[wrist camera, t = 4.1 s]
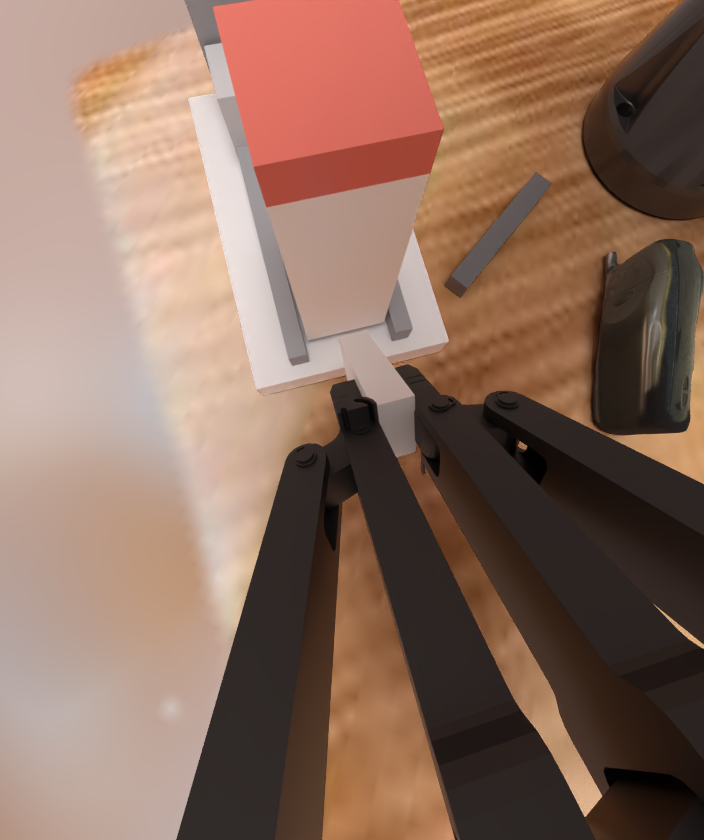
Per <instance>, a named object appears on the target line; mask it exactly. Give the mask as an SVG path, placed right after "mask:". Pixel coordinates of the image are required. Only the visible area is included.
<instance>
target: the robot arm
mask: <svg viewBox="0 0 704 840" xmlns="http://www.w3.org/2000/svg"><path fill="white" fill-rule="evenodd" d="M583 135H584V144H585V149H586V152H587V155H588V158H589V161H590V163H591V165H592V167H593V168H594V170H595V172H596V173H597V175H598V176H599V178H600V179H601V180H602V182H603V183H604V184H605V185H606V186H607V187H608V188H609V189H610V190H611V191H612V192H613V193H614V194H615V195H616V196H618V197H619V198H620V199H622V200H623V201H625V202H626V203H628V204H629V205H631V206H633V207H635V208H637V209H639V210H641V211H643V212H646V213H649V214H651V215H655V216H659V217H663V218H670V219H691V218H697V217H702V216H704V0H683V1H682V2H681V3H679V4H678V5H677V6H676V7H675V8H674V9H673V10H672V11H671V12H670V13H669V14H668V15H667V16H666V17H665V18H664V19H663V20H662V21H661V22H660V23H659V24H658V25H657V26H656V27H655V28H654V29H653V30H652V31H651V32H650V33H649V34H648V35H647V36H646V37H645V38H644V39H643V40H642V41H641V42H640V43H639V44H638V45H637V46H636V47H635V48H634V49H633V50H632V51H631V52H630V53H629V54H628V55H627V56H626V57H625V58H624V59H623V60H622V61H621V62H620V63H619V65H618V66H617V67H616V68H615V70H614V71H613V72H612V74H611V75H610V77H609V78H608V79H607V81H606V82H605V84H604V85H603V86H602V88H601V89H600V91H599V92H598V93H597V95H596V96H595V98H594V99H593V101H592V102H591V104H590V106H589V108H588V110H587V113H586V116H585V121H584V129H583ZM338 338H339V343H340V348H341V353H342V357H343V362H344V367H345V372H346V377H347V381H346V382H342V383H338V384H334V385H333V386H332V389H331V391H330V393H331V397H332V401H333V405H334V409H335V412H336V416H337V420H338V423H339V427H340V431H339V434H338V436H337V437H336V438H335V439H334V440H333V441H332V442H330V443H329V444H327V445H326V446H324V447H322V446H320V445H318V444H305V445H301V446H299V447H297V448H296V449H294V450H293V451H292V452H291V453H290V454H289V455H288V457H287V459H286V461H285V465H284V468H283V472H282V475H281V478H280V482H279V485H278V489H277V492H276V496H275V499H274V503H273V506H272V510H271V513H270V517H269V520H268V524H267V527H266V531H265V534H264V537H263V541H262V544H261V548H260V551H259V555H258V558H257V562H256V565H255V569H254V572H253V576H252V579H251V583H250V586H249V589H248V593H247V596H246V600H245V603H244V607H243V610H242V614H241V617H240V621H239V624H238V628H237V631H236V635H235V638H234V642H233V645H232V648H231V652H230V655H229V659H228V662H227V666H226V669H225V673H224V676H223V680H222V683H221V687H220V690H219V694H218V697H217V701H216V704H215V707H214V711H213V714H212V718H211V721H210V725H209V728H208V732H207V735H206V739H205V742H204V746H203V749H202V753H201V756H200V760H199V763H198V766H197V770H196V773H195V777H194V780H193V784H192V787H191V791H190V795H189V798H188V801H187V805H186V808H185V812H184V815H183V819H182V822H181V825H180V829H179V833H178V836H177V839H176V840H322V831H323V815H324V798H325V782H326V765H327V749H328V732H329V716H330V699H331V683H332V666H333V650H334V633H335V617H336V600H337V583H338V567H339V550H340V534H341V517H342V502H343V501H345V500H346V499H348V498H349V497H351V496H353V495H354V494H356V493H357V492H358V496H359V499H360V503H361V506H362V510H363V513H364V517H365V520H366V524H367V527H368V531H369V535H370V538H371V542H372V545H373V549H374V552H375V556H376V559H377V563H378V566H379V570H380V574H381V577H382V581H383V584H384V588H385V591H386V595H387V598H388V602H389V605H390V609H391V612H392V616H393V620H394V623H395V627H396V630H397V634H398V637H399V641H400V644H401V648H402V651H403V655H404V659H405V662H406V666H407V669H408V673H409V676H410V680H411V683H412V687H413V690H414V694H415V698H416V701H417V705H418V708H419V712H420V715H421V719H422V722H423V726H424V729H425V733H426V737H427V740H428V744H429V748H430V751H431V755H432V759H433V762H434V766H435V770H436V773H437V777H438V780H439V784H440V788H441V791H442V795H443V798H444V802H445V805H446V809H447V812H448V816H449V820H450V823H451V827H452V830H453V834H454V837H455V840H704V649H703V648H701V647H699V646H698V645H696V644H695V643H693V642H692V641H690V640H689V639H688V638H686V637H685V636H684V635H683V634H682V633H681V632H680V631H679V630H678V629H677V628H676V627H675V626H674V625H673V624H672V623H671V622H670V621H669V620H668V619H667V618H666V617H665V616H664V615H663V614H662V613H661V612H660V611H659V610H658V609H657V608H656V607H655V605H656V606H657V607H658V608H659V609H661V610H662V611H663V612H664V613H666V614H667V615H668V616H669V617H671V618H672V619H673V620H674V621H676V622H677V623H678V624H679V625H680V626H682V627H683V628H684V629H685V630H687V631H688V632H689V633H690V634H692V635H693V636H694V637H695V638H697V639H698V640H699V641H700V642H702V643H703V644H704V484H702V483H700V482H698V481H696V480H694V479H692V478H690V477H688V476H686V475H684V474H682V473H680V472H678V471H676V470H674V469H672V468H670V467H668V466H666V465H664V464H662V463H660V462H657V461H655V460H653V459H651V458H649V457H647V456H645V455H643V454H641V453H639V452H637V451H635V450H633V449H631V448H629V447H627V446H625V445H623V444H621V443H619V442H617V441H615V440H613V439H611V438H609V437H607V436H605V435H603V434H601V433H599V432H597V431H594V430H592V429H590V428H588V427H586V426H584V425H582V424H580V423H578V422H576V421H574V420H572V419H570V418H568V417H566V416H564V415H562V414H560V413H558V412H556V411H554V410H552V409H550V408H548V407H546V406H544V405H542V404H540V403H538V402H536V401H534V400H531V399H529V398H527V397H525V396H523V395H521V394H518V393H516V392H511V391H496V392H493V393H490V394H489V395H488V396H486V399H485V402H484V404H479V405H462V404H461V403H460V402H459V401H458V400H456V399H455V398H453V397H450V396H447V395H440V394H439V392H438V391H437V390H436V389H435V388H434V387H433V386H432V385H431V384H430V382H429V381H428V380H426V378H425V377H424V376H423V375H422V374H421V372H420V371H419V370H418V369H417V368H415V367H412V366H410V365H404V366H400V367H397V368H394V367H393V366H392V364H391V363H390V362H389V360H388V359H387V358H386V356H385V355H384V354H383V352H382V351H381V350H380V348H379V347H378V346H377V344H376V343H375V342H374V340H373V339H372V338H371V336H370V335H369V334H368V332H367V331H366V330H365V331H361V332H357V333H353V334H349V335H345V336H341V337H338ZM519 441H521V442H522V443H524V444H525V445H527V446H528V447H527V449H526V450H523V449H521V448H519V447H518V444H519ZM416 443H417V444H418V446H419V448H420V449H421V472H422V475H423V474H425V468H426V469H427V471H428V473H429V474H430V476H431V478H432V480H433V481H434V483H435V485H436V487H437V488H438V490H439V492H440V494H441V495H442V497H443V499H444V501H445V502H446V504H447V506H448V508H449V509H450V511H451V513H452V515H453V516H454V518H455V520H456V522H457V523H458V525H459V527H460V529H461V530H462V532H463V534H464V535H465V537H466V539H467V541H468V542H469V544H470V546H471V548H472V549H473V551H474V553H475V555H476V556H477V558H478V560H479V562H480V563H481V565H482V567H483V569H484V570H485V572H486V574H487V576H488V577H489V579H490V581H491V583H492V584H493V586H494V588H495V590H496V591H497V593H498V595H499V596H500V598H501V600H502V602H503V603H504V605H505V607H506V609H507V610H508V612H509V614H510V616H511V617H512V619H513V621H514V623H515V624H516V626H517V628H518V630H519V631H520V633H521V635H522V637H523V638H524V640H525V642H526V644H527V645H528V647H529V649H530V651H531V652H532V654H533V656H534V657H535V659H536V661H537V663H538V664H539V666H540V668H541V670H542V671H543V673H544V675H545V677H546V678H547V680H548V682H549V684H550V686H551V688H552V690H553V692H554V694H555V697H556V700H557V704H558V709H559V713H560V716H561V718H562V721H563V723H564V726H565V728H566V730H567V732H568V734H569V736H570V738H571V740H572V742H573V744H574V745H575V747H576V749H577V751H578V753H579V754H580V756H581V758H582V760H583V762H584V763H585V765H586V767H587V769H588V771H589V772H590V774H591V776H592V778H593V780H594V781H595V783H596V785H597V787H598V789H599V790H600V792H601V794H602V796H603V797H602V798H601V799H600V800H599V801H598V803H597V804H596V805H595V806H594V807H593V809H592V810H591V811H590V812H589V814H588V815H587V816H586V817H584V815H583V813H582V811H581V809H580V807H579V805H578V803H577V801H576V799H575V798H574V796H573V794H572V792H571V790H570V788H569V786H568V784H567V782H566V780H565V778H564V776H563V774H562V773H561V771H560V769H559V767H558V765H557V763H556V762H555V760H554V758H553V756H552V754H551V752H550V751H549V749H548V748H547V746H546V744H545V743H544V741H543V740H542V738H541V736H540V735H539V733H538V732H537V730H536V729H535V728H534V726H533V725H532V724H531V723H530V721H529V720H528V719H527V718H526V716H525V715H524V714H523V713H522V711H521V710H520V708H519V707H518V705H517V703H516V702H515V700H514V698H513V697H512V695H511V693H510V691H509V689H508V687H507V685H506V683H505V681H504V679H503V677H502V675H501V673H500V670H499V668H498V666H497V664H496V662H495V660H494V658H493V656H492V654H491V652H490V650H489V648H488V646H487V644H486V642H485V640H484V637H483V635H482V633H481V631H480V629H479V627H478V625H477V623H476V621H475V619H474V617H473V615H472V613H471V611H470V609H469V607H468V604H467V602H466V600H465V598H464V596H463V594H462V592H461V590H460V588H459V586H458V584H457V582H456V580H455V578H454V576H453V573H452V571H451V569H450V567H449V565H448V563H447V561H446V559H445V557H444V555H443V553H442V551H441V549H440V547H439V545H438V543H437V540H436V538H435V536H434V534H433V532H432V530H431V528H430V526H429V524H428V522H427V520H426V518H425V516H424V514H423V512H422V510H421V507H420V505H419V503H418V501H417V499H416V497H415V495H414V493H413V491H412V489H411V487H410V485H409V483H408V481H407V479H406V477H405V474H404V472H403V470H402V468H401V466H400V464H399V462H398V460H397V458H396V457H400V456H404V455H407V454H411V453H414V452H416ZM654 604H655V605H654Z"/></svg>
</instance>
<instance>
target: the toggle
mask: <svg viewBox="0 0 704 840" xmlns="http://www.w3.org/2000/svg"><path fill="white" fill-rule="evenodd" d="M213 11H214V15H215V19H216V22H217V26H218V30H219V34H220V38H221V42H222V46H223V50H224V54H225V58H226V62H227V66H228V69H229V73H230V77H231V81H232V85H233V89H234V93H235V97H236V101H237V105H238V109H239V112H240V116H241V120H242V124H243V128H244V132H245V136H246V140H247V144H248V148H249V152H250V156H251V159H252V163H253V167H254V170H255V174H256V177H257V180H258V183H259V186H260V189H261V193H262V196H263V199H264V202H265V205H266V208H267V212H268V215H269V218H270V221H271V224H272V227H273V230H274V234H275V237H276V240H277V243H278V246H279V249H280V253H281V256H282V259H283V262H284V265H285V268H286V272H287V275H288V278H289V281H290V284H291V287H292V291H293V294H294V297H295V300H296V303H297V306H298V310H299V313H300V316H301V319H302V322H303V325H304V329H305V332H306V335H307V338H308V340H312V339H316V338H321V337H325V336H329V335H333V334H337V333H341V332H346V331H350V330H354V329H358V328H362V327H366V326H370V325H375V324H379V323H383V322H384V320H385V317H386V314H387V311H388V307H389V304H390V301H391V298H392V294H393V291H394V288H395V285H396V282H397V278H398V275H399V272H400V269H401V266H402V262H403V259H404V256H405V253H406V249H407V246H408V243H409V240H410V237H411V233H412V230H413V227H414V224H415V220H416V217H417V214H418V211H419V208H420V204H421V201H422V198H423V195H424V191H425V188H426V185H427V182H428V179H429V175H430V172H431V169H432V166H433V162H434V159H435V156H436V153H437V150H438V146H439V143H440V140H441V137H442V133H443V130H444V128H443V125H442V122H441V120H440V117H439V114H438V111H437V108H436V105H435V102H434V100H433V97H432V94H431V91H430V88H429V85H428V83H427V80H426V77H425V74H424V71H423V68H422V65H421V63H420V60H419V57H418V54H417V51H416V48H415V46H414V43H413V40H412V37H411V34H410V31H409V28H408V26H407V23H406V20H405V17H404V14H403V11H402V8H401V6H400V3H399V0H252V1H246V2H239V3H233V4H227V5H220V6H214V7H213Z"/></svg>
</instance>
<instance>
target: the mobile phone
mask: <svg viewBox="0 0 704 840" xmlns="http://www.w3.org/2000/svg"><path fill="white" fill-rule="evenodd" d="M702 292H703V270H702V268H701V266H700V264H699V263H698V261H697V258H696V255H695V251H694V247H693V245H692V244H690V243H689V242H685V241H681V240H675V239H664V240H659V241H656V242H654V243H652V244H650V245H649V246H647V247H645V248H644V249H642V250H641V251H639V252H638V253H636V254H635V255H633V256H632V257H630V258H629V259H628V260H626V261H625V262H624V263H622V264H620V265H618V264H617V255H616V252H611V253H608V254H607V255H606V267H605V294H604V299H603V312H602V316H601V323H600V339H599V349H598V355H597V361H596V368H595V378H594V388H593V398H592V413H593V419H594V421H595V422H596V424H597V425H598V426H599V428H600V429H602V430H603V431H605V432H608V433H611V434H616V435H636V434H662V433H680V432H684V431H686V430H687V428H688V426H689V422H690V394H691V378H692V371H693V369H694V346H695V328H696V323H697V318H698V313H699V307H700V301H701V297H702Z"/></svg>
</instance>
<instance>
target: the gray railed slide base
mask: <svg viewBox="0 0 704 840" xmlns="http://www.w3.org/2000/svg"><path fill="white" fill-rule="evenodd" d="M246 1H252V0H185V3H186V5H187V8H188V11H189V14H190V17H191V20H192V22H193V25H194V28H195V31H196V34H197V37H198V40H199V42H200V45H201V48H202V51H203V54H204V57H205V59H206V62H207V65H208V68H209V71H210V74H211V77H212V81H213V85H214V89H215V93H213V94H208V95H202V96H197V97H191V98H188V99H189V103H190V108H191V112H192V116H193V121H194V125H195V129H196V134H197V138H198V142H199V146H200V151H201V155H202V159H203V164H204V168H205V172H206V177H207V181H208V185H209V190H210V194H211V198H212V202H213V207H214V211H215V215H216V220H217V224H218V228H219V233H220V237H221V241H222V245H223V250H224V254H225V258H226V263H227V267H228V271H229V276H230V280H231V284H232V288H233V293H234V297H235V301H236V306H237V310H238V314H239V319H240V323H241V327H242V332H243V336H244V340H245V344H246V349H247V353H248V357H249V362H250V366H251V370H252V375H253V379H254V383H255V387H256V390H257V391H259V392H260V393H262V394H263V395H264V396H265V395H269V394H273V393H277V392H281V391H285V390H289V389H293V388H297V387H301V386H305V385H309V384H313V383H317V382H321V381H325V380H329V379H333V378H337V377H341V376H345V375H346V372H345V367H344V362H343V357H342V353H341V348H340V343H339V338H338V337H341V336H345V335H349V334H353V333H357V332H361V331H365V330H366V331H367V332H368V334H369V335H370V336H371V338H372V339H373V340H374V342H375V343H376V344H377V346H378V347H379V348H380V350H381V351H382V352H383V354H384V355H385V356H386V358H387V359H388V360H389V362H390V363H391V364H392V363H396V362H400V361H404V360H408V359H412V358H416V357H420V356H424V355H428V354H432V353H436V352H439V351H440V350H441V349H442V348H443V347H444V346H445V345H446V344H447V343H448V342H449V339H448V336H447V333H446V330H445V327H444V324H443V321H442V318H441V314H440V311H439V308H438V305H437V302H436V299H435V296H434V293H433V290H432V286H431V283H430V280H429V277H428V274H427V271H426V268H425V265H424V261H423V258H422V255H421V252H420V249H419V246H418V243H417V240H416V237H415V233H414V230H412V233H411V237H410V240H409V243H408V246H407V249H406V253H405V256H404V259H403V262H402V266H401V269H400V272H399V275H398V278H397V282H396V285H395V288H394V291H393V294H392V298H391V301H390V304H389V307H388V311H387V314H386V317H385V320H384V322H383V323H379V324H375V325H370V326H366V327H362V328H358V329H354V330H350V331H346V332H341V333H337V334H333V335H329V336H325V337H321V338H316V339H312V340H308V338H307V335H306V332H305V329H304V325H303V322H302V319H301V316H300V313H299V310H298V306H297V303H296V300H295V297H294V294H293V291H292V287H291V284H290V281H289V278H288V275H287V272H286V268H285V265H284V262H283V259H282V256H281V253H280V249H279V246H278V243H277V240H276V237H275V234H274V230H273V227H272V224H271V221H270V218H269V215H268V212H267V208H266V205H265V202H264V199H263V196H262V193H261V189H260V186H259V183H258V180H257V177H256V174H255V170H254V167H253V163H252V159H251V156H250V152H249V148H248V144H247V140H246V136H245V132H244V128H243V124H242V120H241V116H240V112H239V109H238V105H237V101H236V97H235V93H234V89H233V85H232V81H231V77H230V73H229V69H228V66H227V62H226V58H225V54H224V50H223V46H222V42H221V38H220V34H219V30H218V26H217V22H216V19H215V15H214V11H213V7H214V6H220V5H227V4H233V3H239V2H246Z"/></svg>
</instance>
